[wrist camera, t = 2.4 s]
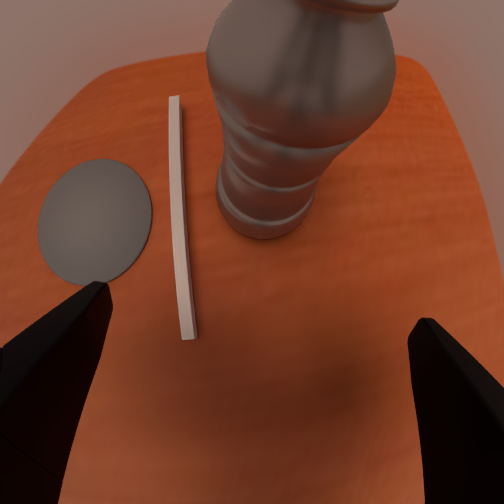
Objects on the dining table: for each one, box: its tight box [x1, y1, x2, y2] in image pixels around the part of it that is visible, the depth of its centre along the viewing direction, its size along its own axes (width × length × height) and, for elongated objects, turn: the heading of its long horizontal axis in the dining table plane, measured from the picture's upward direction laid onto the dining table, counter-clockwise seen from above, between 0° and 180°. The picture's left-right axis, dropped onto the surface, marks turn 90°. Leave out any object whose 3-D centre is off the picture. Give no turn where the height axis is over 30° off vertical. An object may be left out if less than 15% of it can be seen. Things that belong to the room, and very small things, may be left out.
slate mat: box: [38, 159, 152, 286], centre depth 22 cm, size 10×10×1 cm
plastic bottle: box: [206, 0, 399, 239], centre depth 13 cm, size 6×7×20 cm
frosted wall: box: [169, 96, 198, 340], centre depth 22 cm, size 18×1×2 cm, turn 7°
